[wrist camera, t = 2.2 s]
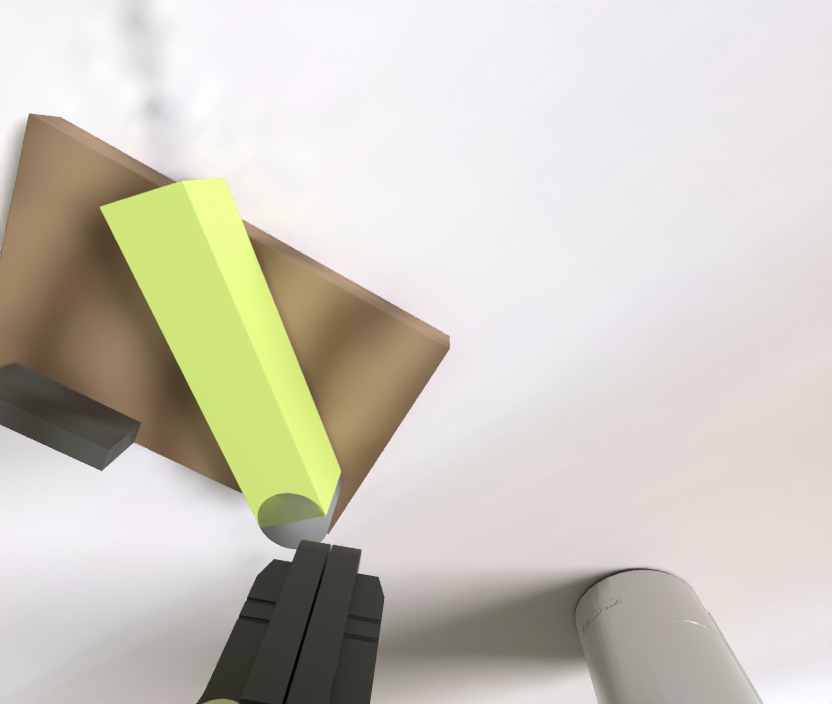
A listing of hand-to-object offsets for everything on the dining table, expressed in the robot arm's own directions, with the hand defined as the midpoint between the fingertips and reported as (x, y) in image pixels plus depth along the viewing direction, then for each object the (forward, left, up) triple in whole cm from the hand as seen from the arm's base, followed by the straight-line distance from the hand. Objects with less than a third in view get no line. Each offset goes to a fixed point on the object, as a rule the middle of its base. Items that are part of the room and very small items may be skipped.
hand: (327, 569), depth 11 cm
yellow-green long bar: (+6, +5, -15) cm, 17 cm away
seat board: (+9, +7, -18) cm, 21 cm away
